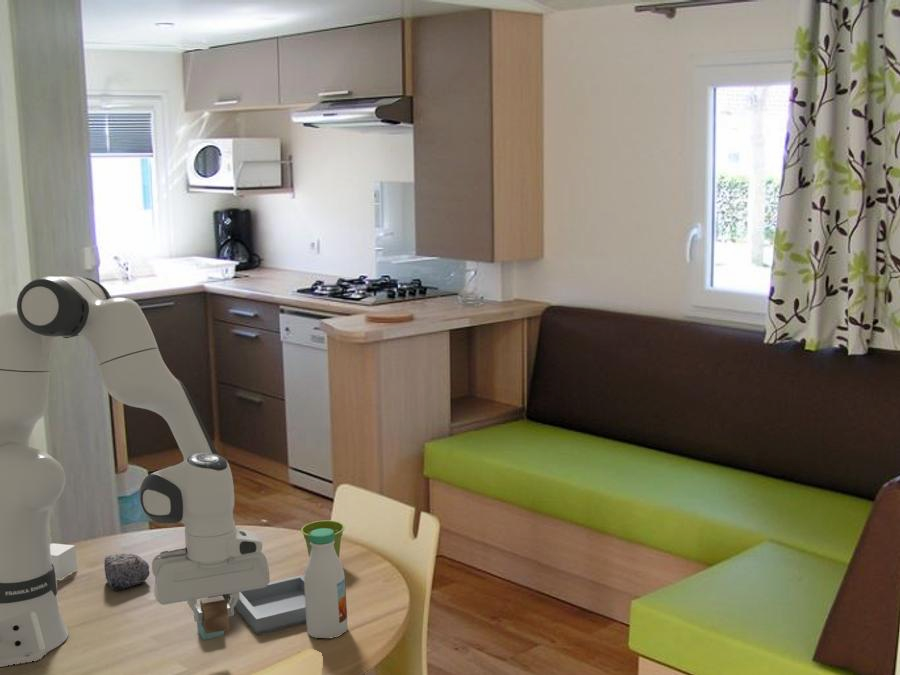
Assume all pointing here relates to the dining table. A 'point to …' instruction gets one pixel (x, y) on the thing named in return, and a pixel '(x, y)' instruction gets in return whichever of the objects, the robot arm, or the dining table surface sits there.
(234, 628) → the dining table surface
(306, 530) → the plant pot
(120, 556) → the pumice stone
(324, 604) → the milk bottle
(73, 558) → the white cube
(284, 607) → the tray
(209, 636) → the teal block
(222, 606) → the walnut block
